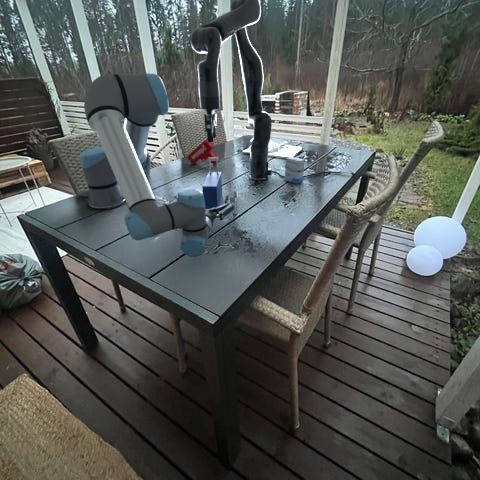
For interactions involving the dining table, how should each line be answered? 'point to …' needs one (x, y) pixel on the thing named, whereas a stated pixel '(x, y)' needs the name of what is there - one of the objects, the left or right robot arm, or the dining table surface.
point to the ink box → (294, 170)
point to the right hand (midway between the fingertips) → (212, 139)
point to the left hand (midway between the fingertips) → (210, 198)
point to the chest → (213, 196)
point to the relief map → (280, 150)
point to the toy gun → (203, 153)
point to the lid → (212, 176)
